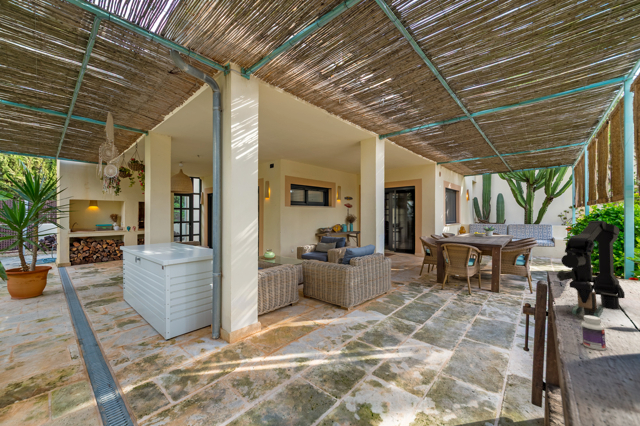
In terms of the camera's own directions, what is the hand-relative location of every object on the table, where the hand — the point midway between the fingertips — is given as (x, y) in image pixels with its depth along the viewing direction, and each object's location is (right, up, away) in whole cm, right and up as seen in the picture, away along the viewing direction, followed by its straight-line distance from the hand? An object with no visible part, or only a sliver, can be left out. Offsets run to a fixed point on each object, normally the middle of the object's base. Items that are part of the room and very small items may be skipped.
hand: (585, 302), depth 114 cm
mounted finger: (+9, -6, +7) cm, 13 cm away
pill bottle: (-24, -6, -27) cm, 36 cm away
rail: (+5, -7, +3) cm, 9 cm away
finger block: (0, -2, 0) cm, 2 cm away
